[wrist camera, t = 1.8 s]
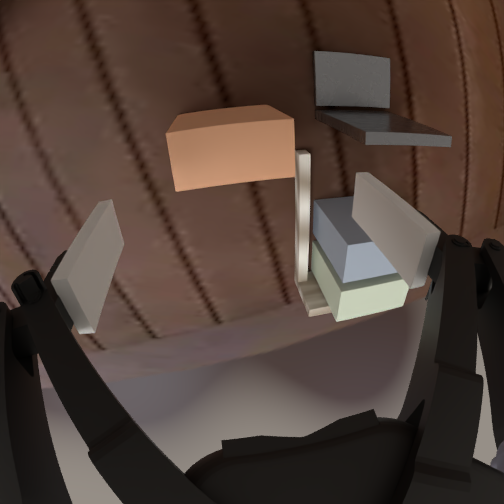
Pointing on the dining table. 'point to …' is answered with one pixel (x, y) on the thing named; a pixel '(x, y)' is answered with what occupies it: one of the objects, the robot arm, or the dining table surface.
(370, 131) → the bookend
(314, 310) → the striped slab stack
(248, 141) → the book rust
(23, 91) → the dining table surface
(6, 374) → the robot arm
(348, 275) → the book slate
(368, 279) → the book sage
